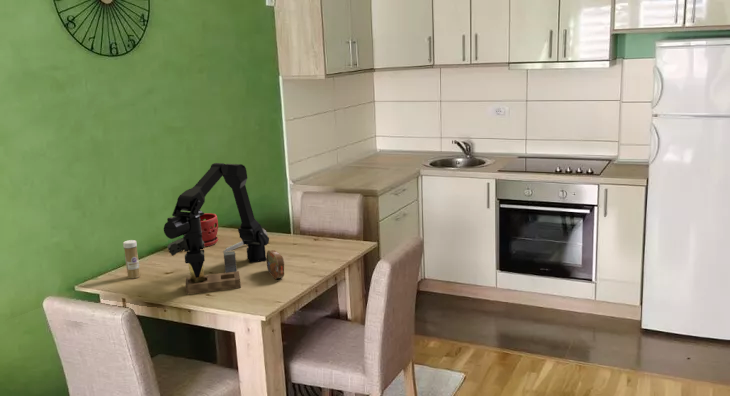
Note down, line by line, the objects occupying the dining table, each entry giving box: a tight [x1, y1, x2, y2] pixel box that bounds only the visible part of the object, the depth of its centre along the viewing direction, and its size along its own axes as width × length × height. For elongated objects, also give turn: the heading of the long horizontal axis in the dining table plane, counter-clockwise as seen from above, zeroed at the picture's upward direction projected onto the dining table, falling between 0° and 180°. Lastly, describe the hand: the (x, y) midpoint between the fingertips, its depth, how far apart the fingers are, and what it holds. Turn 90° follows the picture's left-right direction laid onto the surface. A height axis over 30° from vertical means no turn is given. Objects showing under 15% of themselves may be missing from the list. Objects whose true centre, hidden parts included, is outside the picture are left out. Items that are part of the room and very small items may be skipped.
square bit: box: [223, 250, 238, 273], centre depth 248 cm, size 4×4×7 cm
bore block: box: [185, 270, 242, 295], centre depth 233 cm, size 18×9×3 cm, turn 103°
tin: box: [266, 249, 285, 280], centre depth 241 cm, size 15×3×8 cm, turn 23°
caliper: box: [222, 227, 269, 253], centre depth 279 cm, size 20×1×6 cm, turn 129°
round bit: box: [188, 263, 205, 283], centre depth 231 cm, size 5×5×7 cm
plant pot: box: [200, 212, 219, 248], centre depth 284 cm, size 13×13×12 cm
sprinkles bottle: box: [122, 239, 141, 279], centre depth 246 cm, size 5×5×14 cm
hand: (197, 275), depth 231 cm, fingers closed on round bit, 5 cm apart
